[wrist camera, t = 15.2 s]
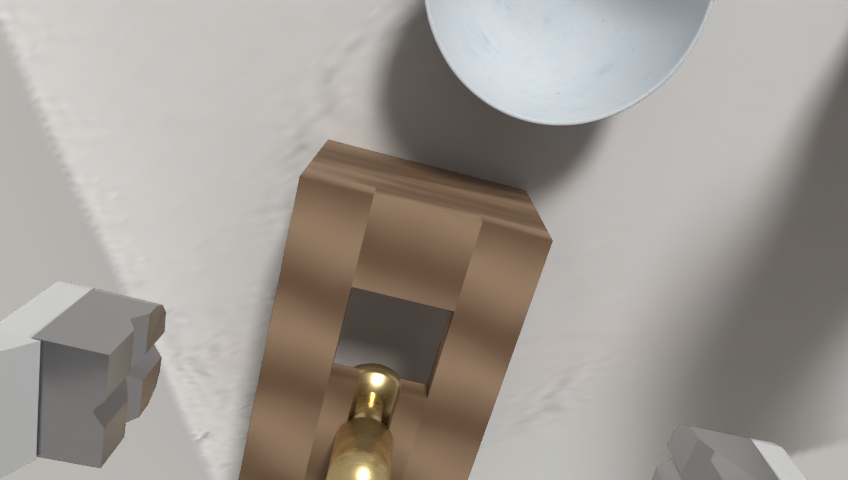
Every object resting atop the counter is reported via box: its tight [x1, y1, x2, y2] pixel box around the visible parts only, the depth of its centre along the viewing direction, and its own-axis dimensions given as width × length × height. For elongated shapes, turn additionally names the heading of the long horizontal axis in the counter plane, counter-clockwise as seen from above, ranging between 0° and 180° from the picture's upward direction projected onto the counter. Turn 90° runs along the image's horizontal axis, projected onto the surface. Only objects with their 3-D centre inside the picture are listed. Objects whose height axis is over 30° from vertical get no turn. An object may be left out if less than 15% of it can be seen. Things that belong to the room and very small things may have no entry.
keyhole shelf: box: [239, 140, 553, 480], centre depth 43 cm, size 24×14×10 cm, turn 165°
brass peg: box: [326, 363, 401, 480], centre depth 39 cm, size 5×5×10 cm
